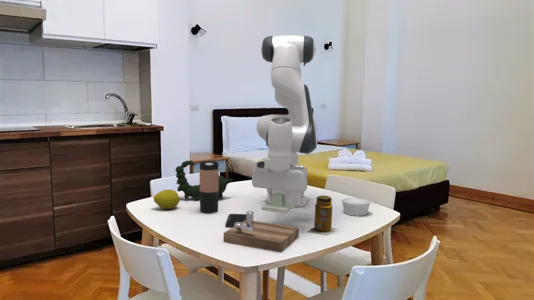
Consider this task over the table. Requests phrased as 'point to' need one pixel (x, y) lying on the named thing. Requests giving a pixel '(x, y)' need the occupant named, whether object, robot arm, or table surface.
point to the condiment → (323, 216)
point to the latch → (249, 224)
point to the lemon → (167, 199)
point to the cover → (278, 204)
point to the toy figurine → (195, 190)
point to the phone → (235, 219)
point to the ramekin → (355, 206)
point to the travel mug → (209, 186)
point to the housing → (263, 236)
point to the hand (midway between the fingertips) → (278, 201)
